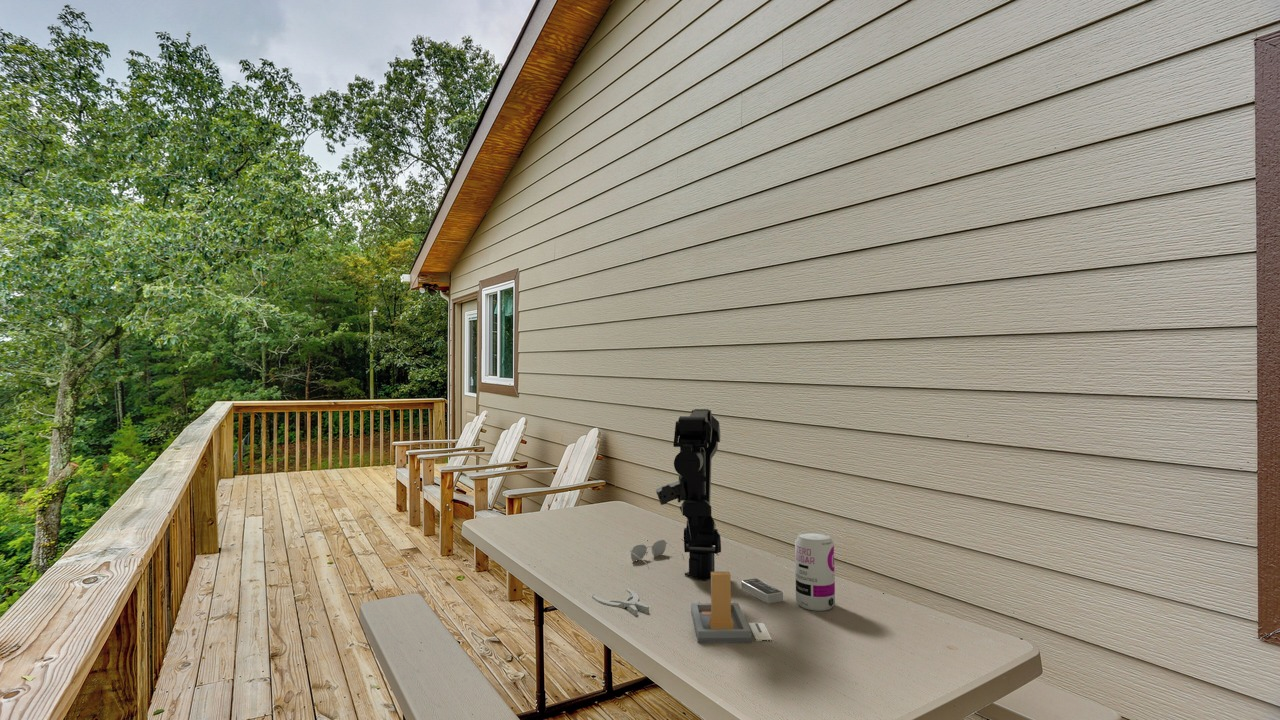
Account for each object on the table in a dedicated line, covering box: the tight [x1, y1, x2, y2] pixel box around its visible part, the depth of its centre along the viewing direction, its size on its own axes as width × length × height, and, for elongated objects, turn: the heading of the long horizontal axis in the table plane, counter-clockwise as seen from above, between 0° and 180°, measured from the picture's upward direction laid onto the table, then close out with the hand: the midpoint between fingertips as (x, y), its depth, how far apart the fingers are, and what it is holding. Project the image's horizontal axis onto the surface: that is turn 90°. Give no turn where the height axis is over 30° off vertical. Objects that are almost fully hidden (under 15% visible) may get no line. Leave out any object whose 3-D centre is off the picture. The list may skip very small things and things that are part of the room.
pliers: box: [591, 588, 650, 617], centre depth 135 cm, size 10×2×15 cm
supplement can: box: [794, 531, 836, 612], centre depth 134 cm, size 8×8×15 cm
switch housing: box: [690, 602, 773, 643], centre depth 122 cm, size 15×14×2 cm
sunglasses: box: [629, 539, 685, 570], centre depth 168 cm, size 14×8×5 cm, turn 130°
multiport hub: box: [740, 578, 784, 604], centre depth 141 cm, size 4×11×2 cm, turn 23°
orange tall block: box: [709, 571, 734, 629], centre depth 119 cm, size 3×4×10 cm
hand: (693, 540), depth 139 cm, fingers closed
